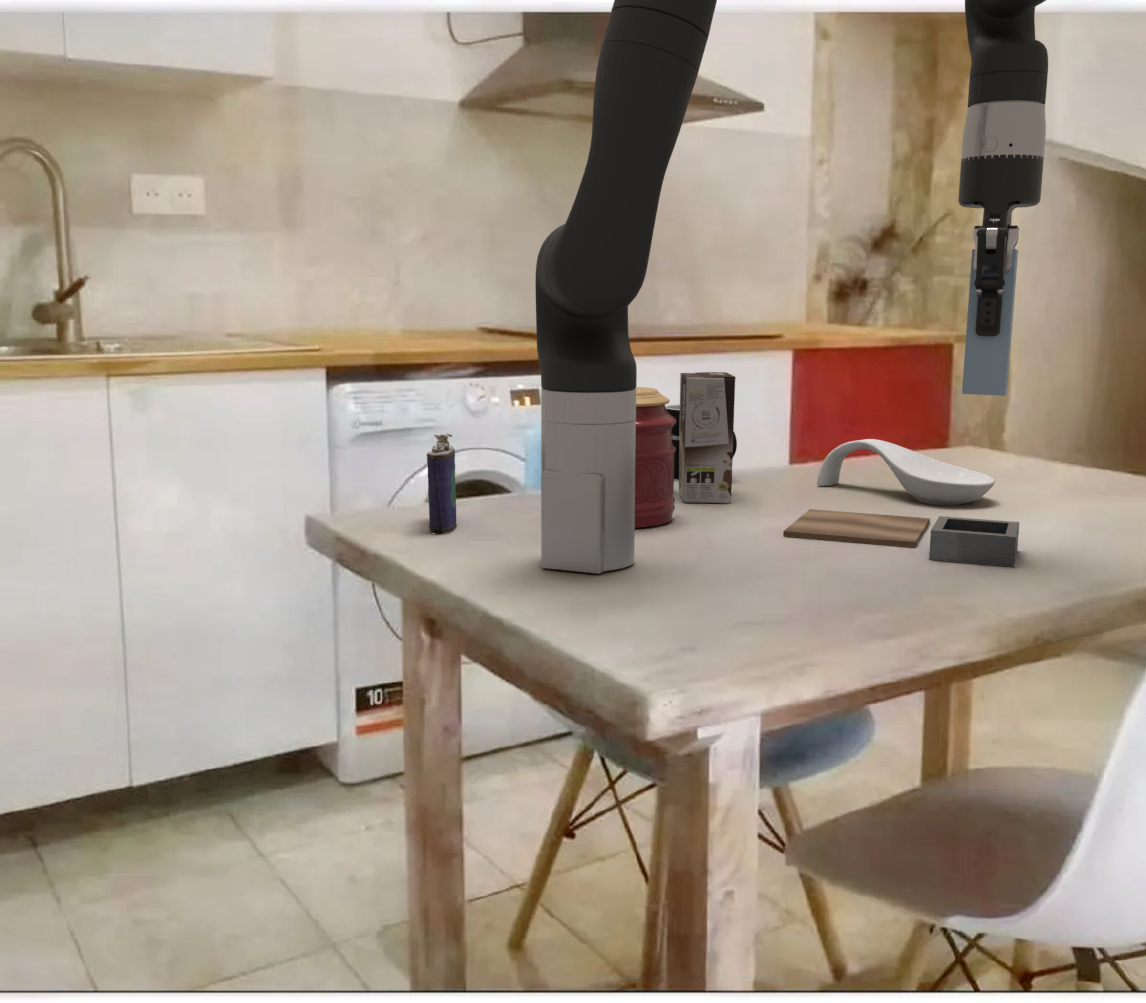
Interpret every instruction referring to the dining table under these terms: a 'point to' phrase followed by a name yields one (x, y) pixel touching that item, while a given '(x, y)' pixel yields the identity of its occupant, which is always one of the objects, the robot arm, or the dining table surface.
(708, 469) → the coffee box
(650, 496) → the canister
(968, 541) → the collar
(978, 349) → the peg
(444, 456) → the flask
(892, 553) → the dining table surface
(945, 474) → the spoon rest
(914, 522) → the board
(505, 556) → the dining table surface
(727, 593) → the dining table surface
